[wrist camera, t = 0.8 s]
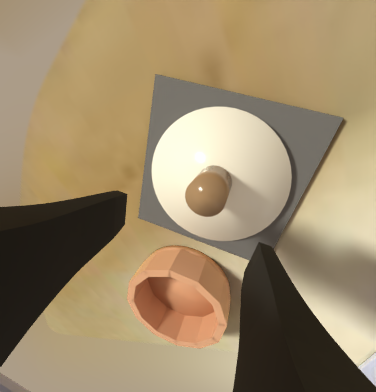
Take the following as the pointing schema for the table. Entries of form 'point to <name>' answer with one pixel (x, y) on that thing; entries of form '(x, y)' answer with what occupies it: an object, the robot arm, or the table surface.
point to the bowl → (181, 296)
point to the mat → (266, 111)
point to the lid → (221, 173)
